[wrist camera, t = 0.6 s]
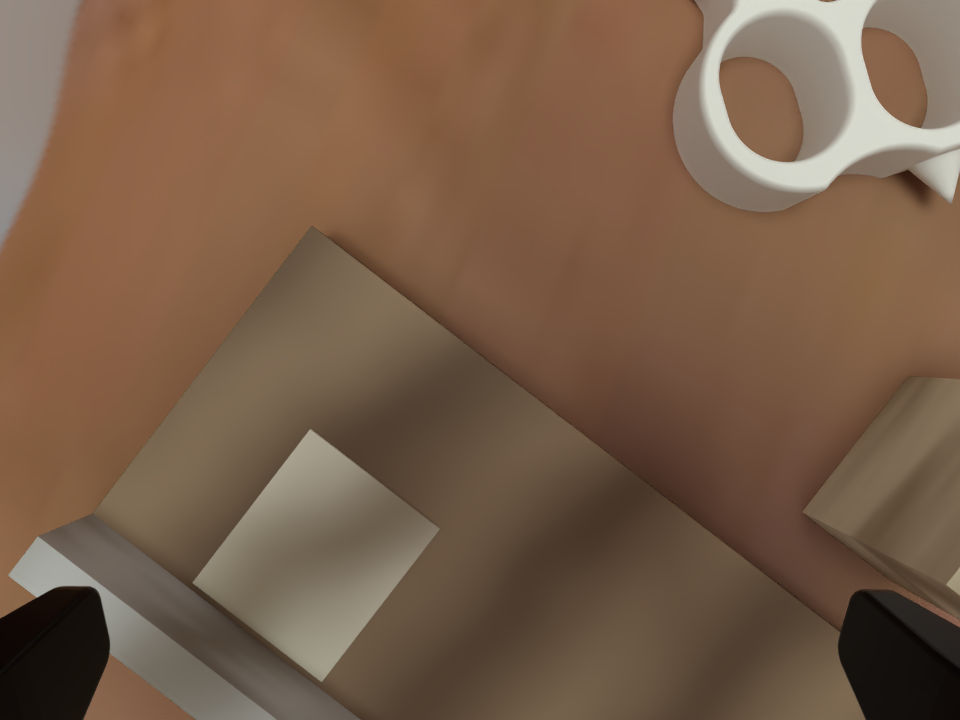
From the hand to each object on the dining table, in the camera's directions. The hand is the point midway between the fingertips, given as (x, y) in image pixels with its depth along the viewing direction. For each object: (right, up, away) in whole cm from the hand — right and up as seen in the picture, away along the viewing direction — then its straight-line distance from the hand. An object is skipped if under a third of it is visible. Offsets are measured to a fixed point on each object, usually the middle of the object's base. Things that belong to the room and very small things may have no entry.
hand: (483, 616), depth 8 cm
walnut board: (+1, -6, +15) cm, 16 cm away
